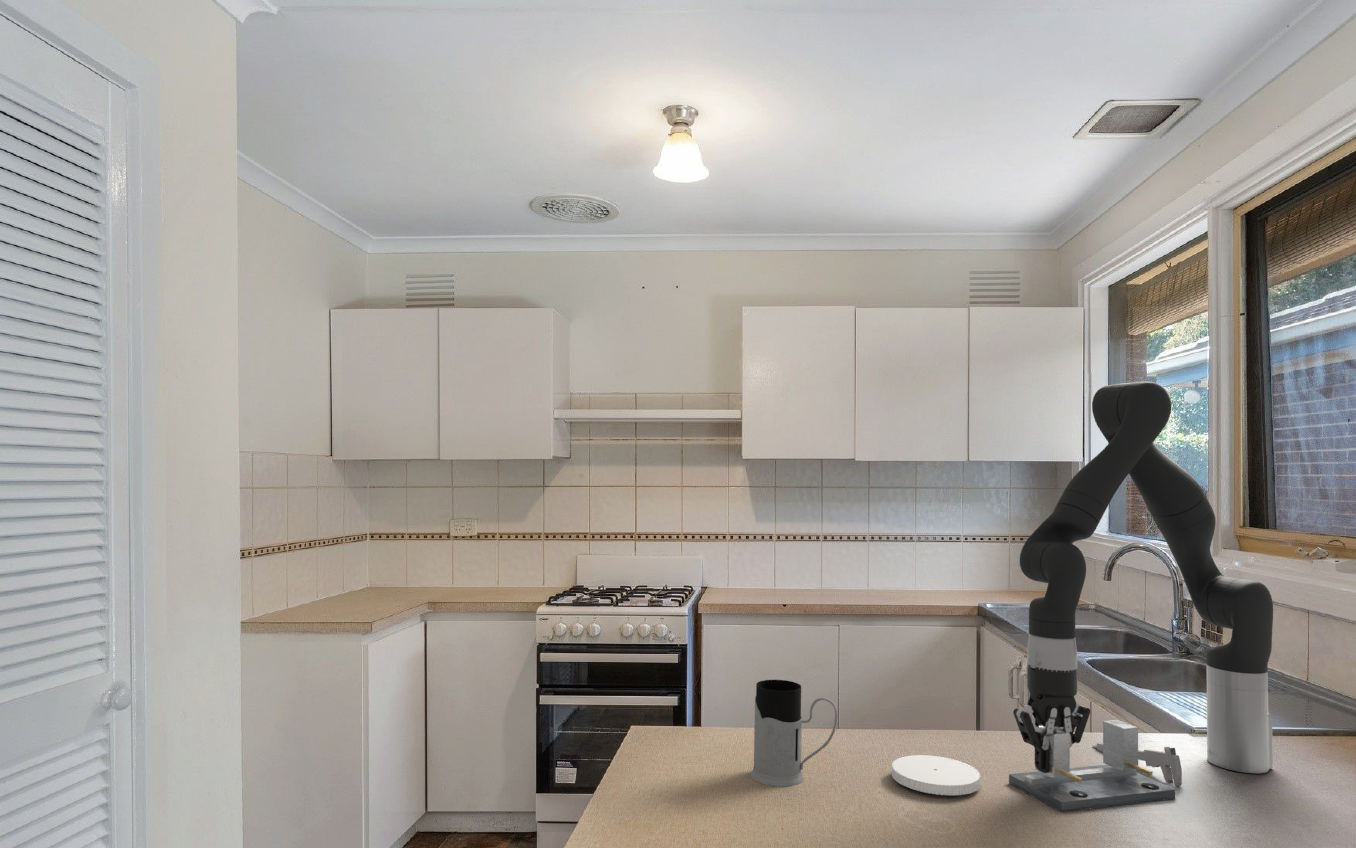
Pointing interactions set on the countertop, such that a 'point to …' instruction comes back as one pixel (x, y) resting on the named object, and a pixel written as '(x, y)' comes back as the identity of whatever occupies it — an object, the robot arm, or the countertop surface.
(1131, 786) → the hole plate
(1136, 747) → the fixed leg
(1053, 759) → the leg
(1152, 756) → the caliper
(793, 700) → the glass holder
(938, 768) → the plastic lid
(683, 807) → the countertop surface
